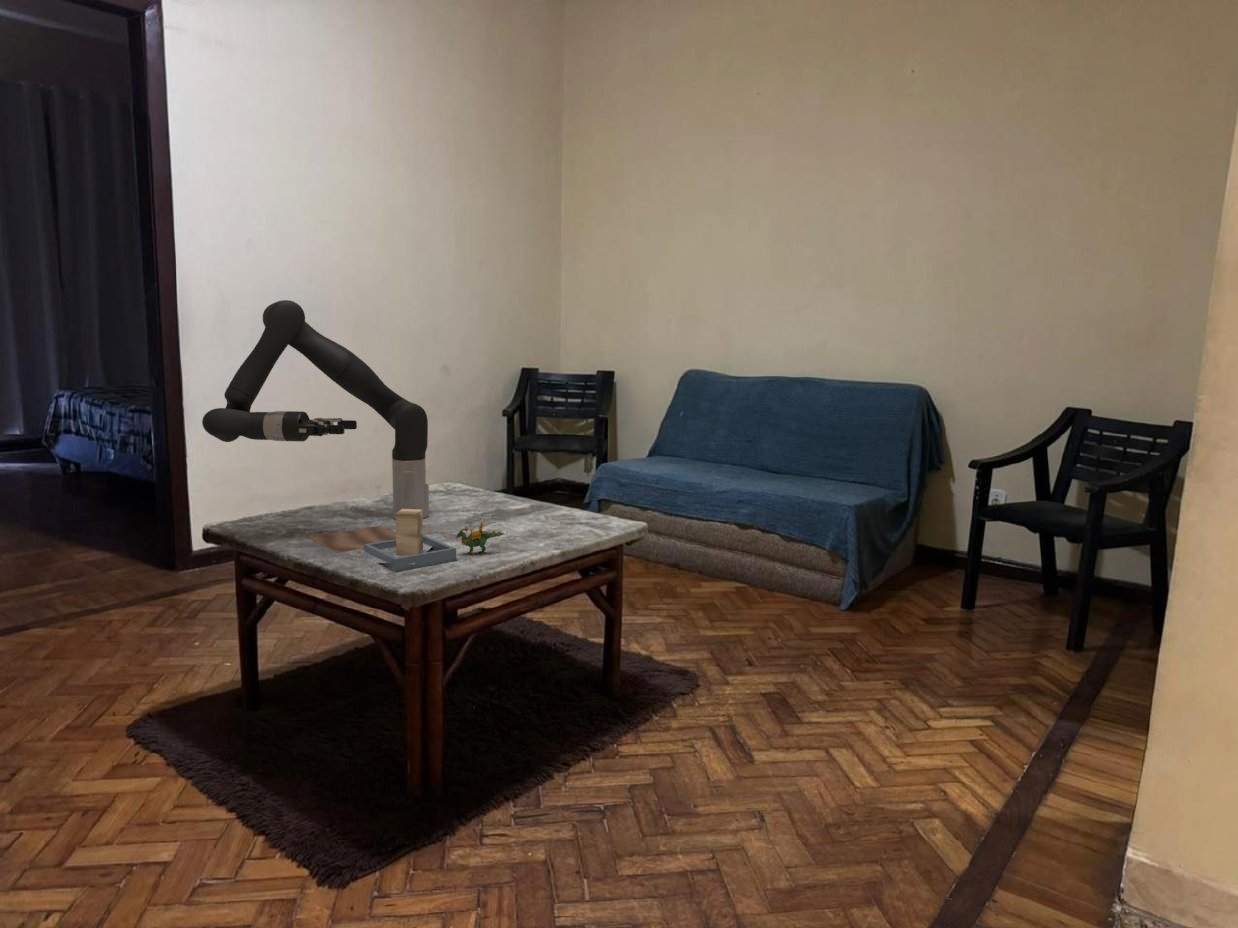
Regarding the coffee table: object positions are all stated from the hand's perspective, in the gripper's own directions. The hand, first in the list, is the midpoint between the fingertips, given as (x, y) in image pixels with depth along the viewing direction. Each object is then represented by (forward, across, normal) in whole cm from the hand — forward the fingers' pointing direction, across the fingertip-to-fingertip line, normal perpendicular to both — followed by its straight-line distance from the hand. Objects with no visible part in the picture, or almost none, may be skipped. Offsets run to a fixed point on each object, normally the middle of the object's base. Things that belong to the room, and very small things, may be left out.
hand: (350, 427), depth 218 cm
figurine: (+33, -5, +30) cm, 45 cm away
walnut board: (+2, -1, +30) cm, 30 cm away
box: (+18, -12, +30) cm, 37 cm away
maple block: (+18, -12, +29) cm, 36 cm away
